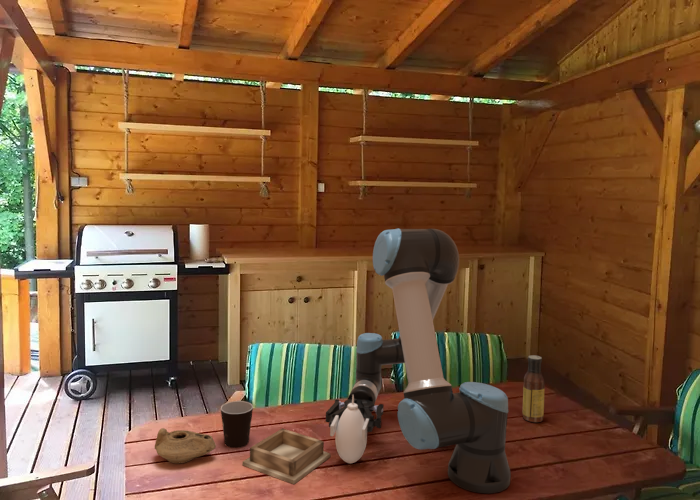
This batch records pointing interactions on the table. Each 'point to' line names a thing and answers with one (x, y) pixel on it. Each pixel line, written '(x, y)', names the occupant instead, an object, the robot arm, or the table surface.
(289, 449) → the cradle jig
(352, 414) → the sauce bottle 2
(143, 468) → the table surface
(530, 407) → the sauce bottle
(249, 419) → the coffee mug
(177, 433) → the oil lamp
